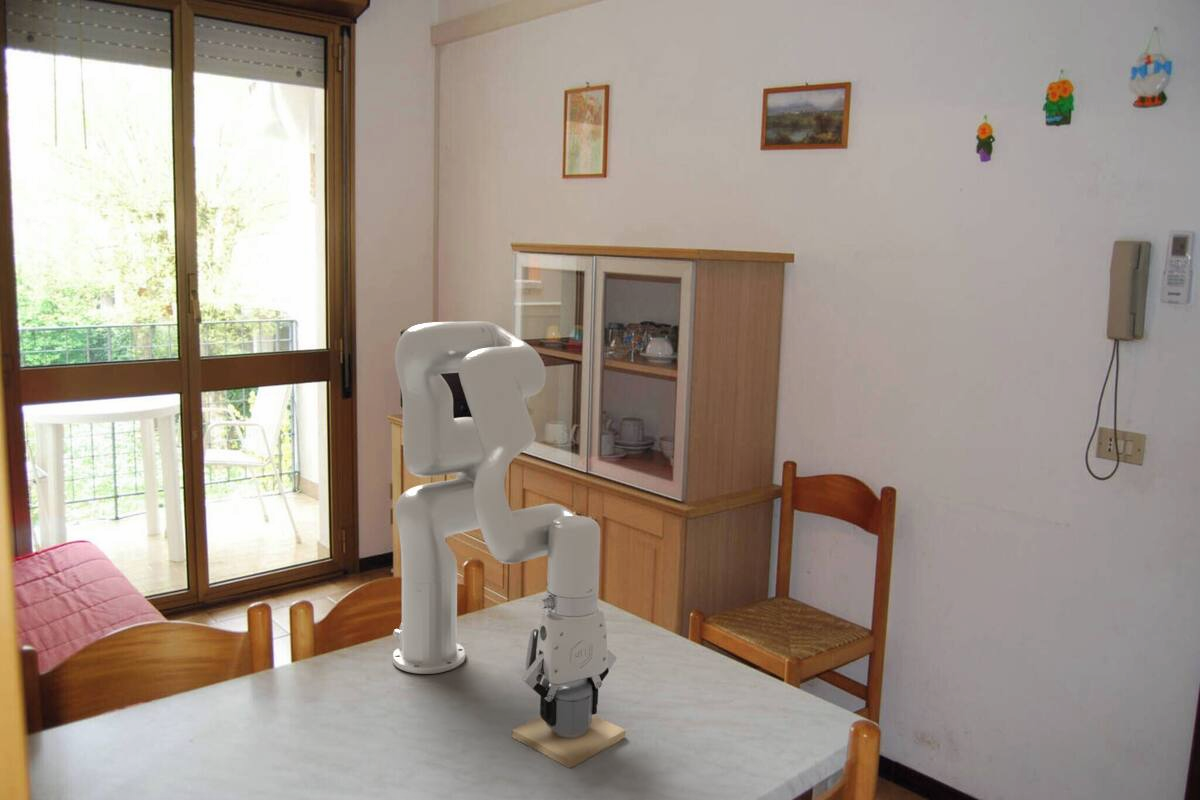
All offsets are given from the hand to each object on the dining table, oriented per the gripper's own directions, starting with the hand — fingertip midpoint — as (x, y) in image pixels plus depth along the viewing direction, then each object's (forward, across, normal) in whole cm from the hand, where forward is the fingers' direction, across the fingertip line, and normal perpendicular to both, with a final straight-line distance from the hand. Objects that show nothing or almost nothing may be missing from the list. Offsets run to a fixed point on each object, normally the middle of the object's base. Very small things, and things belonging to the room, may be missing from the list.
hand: (569, 715), depth 137 cm
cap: (+1, 0, 0) cm, 1 cm away
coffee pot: (+4, +7, +16) cm, 18 cm away
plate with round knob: (+4, 0, 0) cm, 4 cm away
